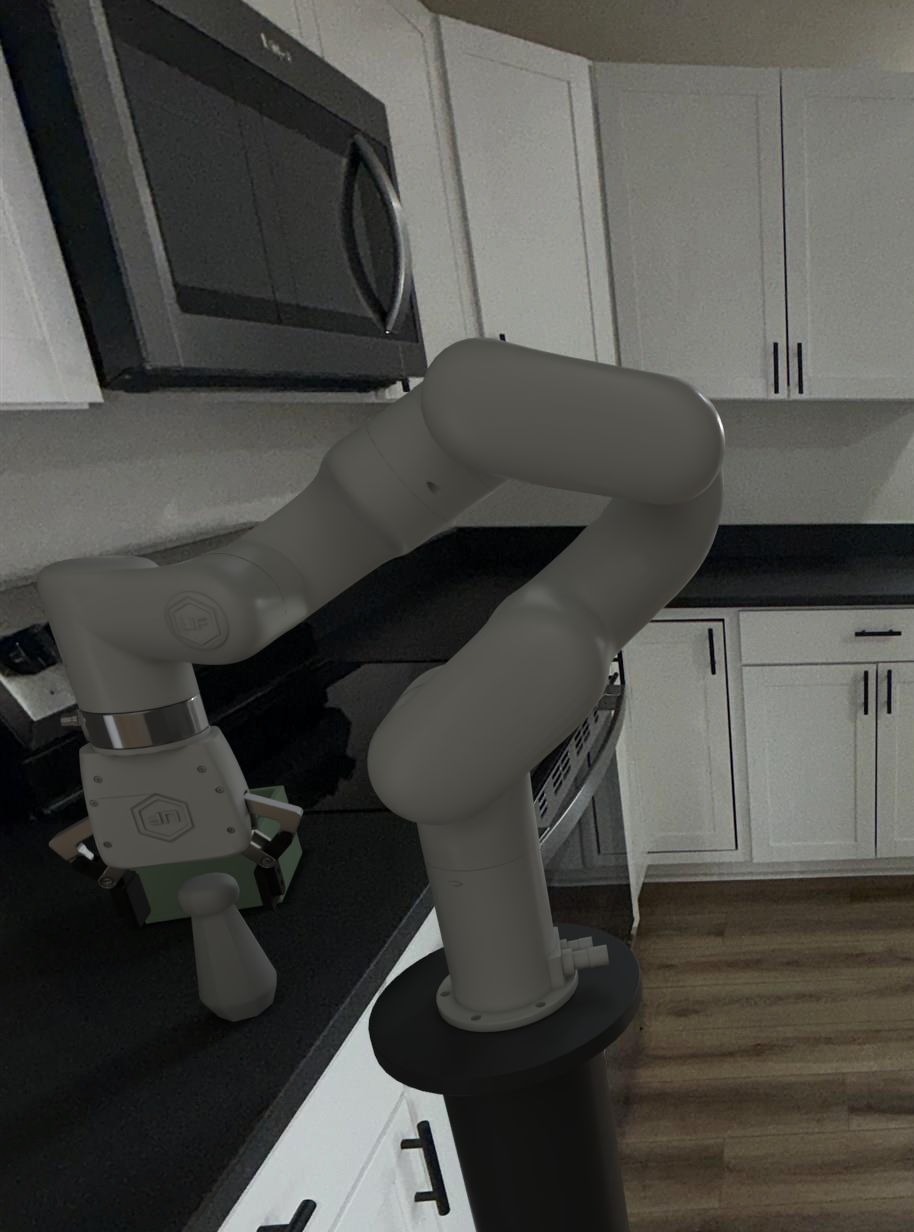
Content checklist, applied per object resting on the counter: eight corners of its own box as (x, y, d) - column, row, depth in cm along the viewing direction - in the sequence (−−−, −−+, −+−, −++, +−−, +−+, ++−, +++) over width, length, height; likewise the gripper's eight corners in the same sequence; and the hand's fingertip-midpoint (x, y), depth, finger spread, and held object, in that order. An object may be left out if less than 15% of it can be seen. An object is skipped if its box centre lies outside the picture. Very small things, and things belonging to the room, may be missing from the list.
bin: (302, 852, 110) (283, 785, 106) (282, 902, 99) (259, 829, 95) (180, 870, 106) (156, 800, 102) (145, 924, 95) (117, 848, 92)
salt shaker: (196, 1011, 82) (149, 884, 77) (264, 980, 86) (225, 857, 81) (226, 1036, 79) (180, 904, 73) (295, 1002, 83) (256, 876, 78)
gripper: (-14, 750, 65) (67, 954, 72) (265, 726, 71) (316, 917, 78) (31, 717, 72) (102, 907, 79) (284, 697, 77) (329, 876, 84)
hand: (208, 912), depth 78 cm, fingers open, 9 cm apart
